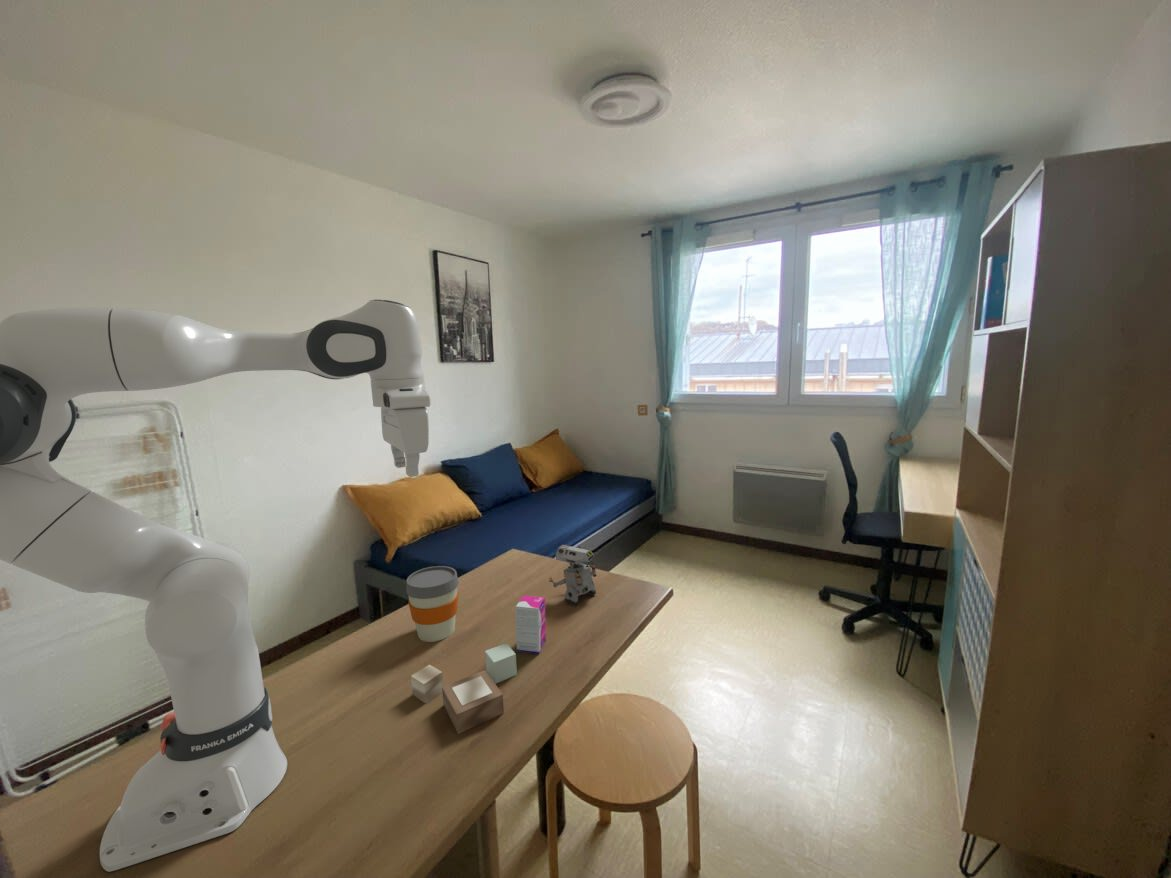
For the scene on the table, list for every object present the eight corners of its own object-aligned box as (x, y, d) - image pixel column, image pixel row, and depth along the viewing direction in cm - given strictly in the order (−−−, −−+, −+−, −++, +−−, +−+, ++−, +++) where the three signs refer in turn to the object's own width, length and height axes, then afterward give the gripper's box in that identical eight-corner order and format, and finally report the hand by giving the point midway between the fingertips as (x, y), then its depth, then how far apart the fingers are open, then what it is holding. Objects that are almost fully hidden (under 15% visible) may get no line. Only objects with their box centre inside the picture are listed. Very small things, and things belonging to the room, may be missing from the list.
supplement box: (540, 654, 108) (538, 608, 107) (516, 652, 110) (513, 606, 108) (547, 640, 114) (545, 596, 112) (524, 637, 115) (521, 594, 113)
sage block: (495, 684, 99) (494, 662, 98) (486, 671, 103) (485, 650, 102) (516, 674, 102) (515, 653, 101) (507, 663, 106) (506, 642, 105)
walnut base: (458, 733, 86) (456, 713, 85) (443, 705, 93) (442, 686, 92) (503, 712, 90) (502, 693, 90) (486, 687, 98) (485, 669, 97)
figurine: (570, 585, 142) (568, 538, 140) (600, 596, 135) (599, 547, 132) (549, 597, 135) (547, 548, 133) (579, 609, 128) (578, 558, 125)
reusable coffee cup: (442, 649, 111) (437, 591, 109) (399, 641, 115) (393, 584, 113) (471, 622, 123) (467, 568, 121) (431, 615, 127) (427, 563, 125)
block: (425, 703, 94) (423, 684, 93) (412, 695, 96) (410, 675, 96) (443, 691, 97) (442, 672, 96) (431, 683, 100) (429, 664, 99)
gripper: (370, 394, 90) (377, 464, 92) (392, 399, 73) (400, 484, 75) (404, 392, 93) (410, 460, 95) (433, 396, 76) (439, 478, 79)
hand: (406, 471), depth 85 cm, fingers open, 8 cm apart
